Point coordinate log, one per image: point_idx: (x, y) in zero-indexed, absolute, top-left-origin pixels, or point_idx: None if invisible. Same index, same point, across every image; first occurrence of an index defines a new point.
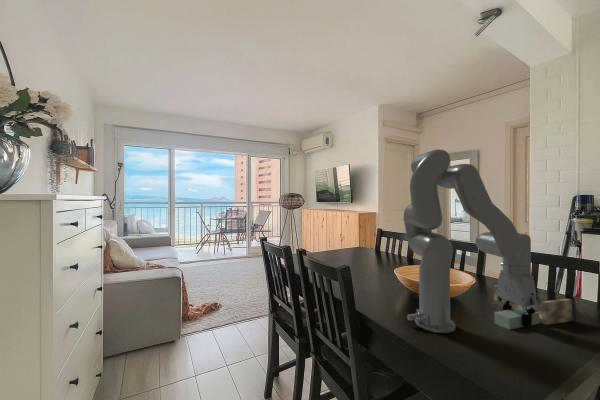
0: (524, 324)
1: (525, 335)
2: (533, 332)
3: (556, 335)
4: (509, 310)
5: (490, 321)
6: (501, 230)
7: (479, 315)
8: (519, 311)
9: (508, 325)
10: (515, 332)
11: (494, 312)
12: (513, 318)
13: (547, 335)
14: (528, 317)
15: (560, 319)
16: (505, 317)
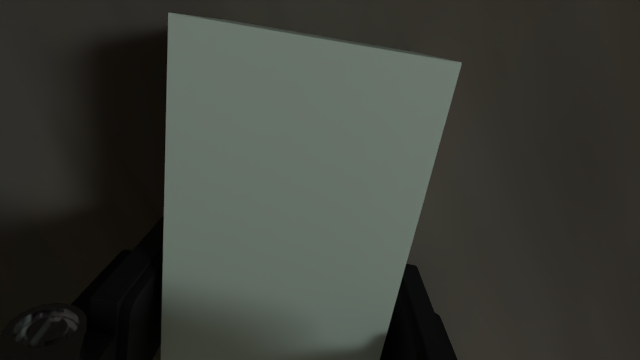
0: (161, 226)
1: (73, 46)
2: (100, 200)
3: (5, 310)
4: (355, 342)
5: (466, 58)
6: None
7: (626, 114)
8: None
9: (224, 20)
10: (160, 19)
11: (459, 64)
12: (172, 117)
13: (21, 247)
14: (75, 304)
15: None
16: (247, 26)
